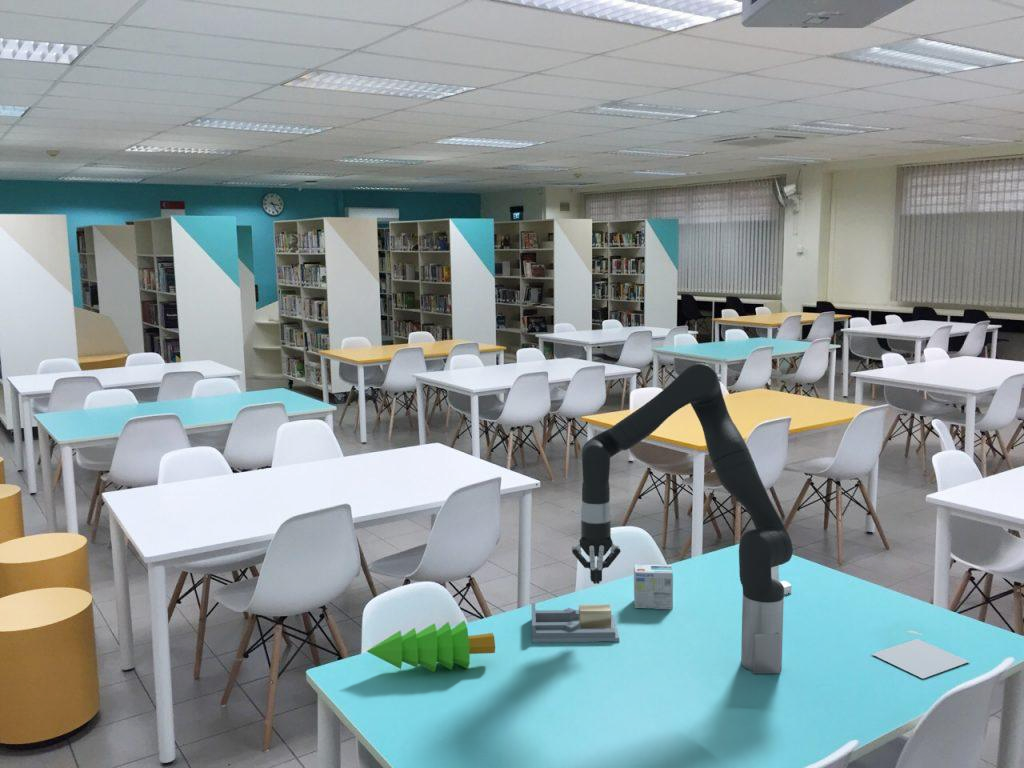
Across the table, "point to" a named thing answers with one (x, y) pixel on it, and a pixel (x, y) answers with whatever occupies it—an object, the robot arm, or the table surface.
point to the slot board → (567, 627)
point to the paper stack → (920, 658)
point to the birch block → (594, 616)
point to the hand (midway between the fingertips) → (596, 582)
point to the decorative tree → (434, 647)
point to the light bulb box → (653, 586)
